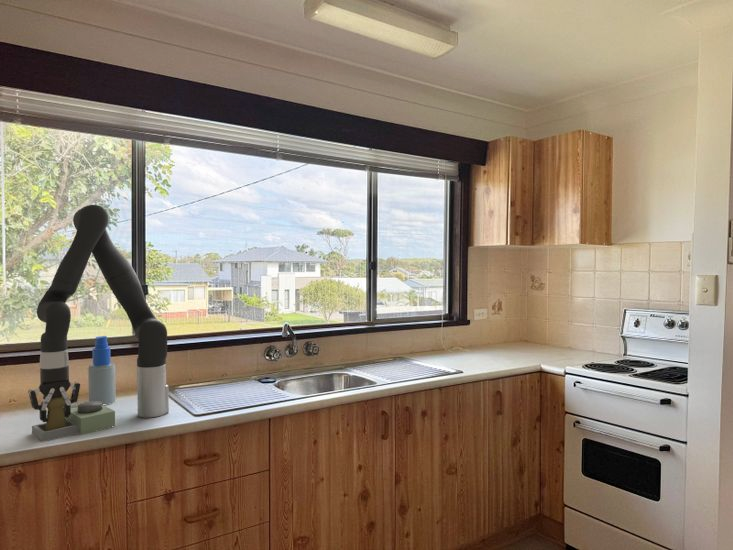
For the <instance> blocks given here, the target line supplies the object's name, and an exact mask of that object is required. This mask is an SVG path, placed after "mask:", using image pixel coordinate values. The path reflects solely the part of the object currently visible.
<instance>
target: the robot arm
mask: <svg viewBox="0 0 733 550" xmlns="http://www.w3.org/2000/svg"><path fill="white" fill-rule="evenodd" d="M72 221H73V226H74V228H75V230H76V232H75V235H74V238H73V240H72V241H71V245H70V246H69V248H68V250H67V252H66V253H65V255H64V257H63V258H62V260H61V262H60V263H59V265H58V267H57V270H56V272H55V274H54V277H53V279H52V281H51V284H50V286H49V287H48V288H47V290H46V291H45V293H44V294H43V296H42V297H41V299H40V301H39V303H38V305H37V307H36V316H37V318H38V319H39V320H40V321H41V322H42V323H45V331H44V333H42V334H41V336H40V356H39V379H40V380H39V381H40V384H39V386H38V388H37V387H36V388H34V389H29V390H28V391H27V393H28V397H29V401H30V405H31V407H32V409H34V410H36V411H38V410H39V412H38V413H39V420H40V421H41V422H43V423H46V422H47V413H48V409H47V405H48V403H49V402H50V399H54V398H60V397H63V398H64V400H65V405H64V413H65V419H66V418H68V417H69V415H70V414H71V408H72V407H71V406H72V404H74V403H77V402H78V398H79V394H80V390H81V389H80V388H81V384H80V383H79V382H77V381H74V382H71V381H70V372H69V370H70V367H69V366H70V365H69V364H70V361H69V352H68V351H69V350H68V334H69V330H70V325H71V317H72V315H71V314H72V312H71V309H70V306H69V305H68V304H67V301H68V299H69V297H72V296H73V295H75V293H76V292H77V289H78V287H79V285H80V282H81V279H82V276H83V275H84V272H85V269H86V266H87V264H88V262H89V259H90V258H91V256H92V255H93V257H94V260H95V262H96V265H97V266H98V269H99V270H100V271H101V274H102V276H103V278H104V279H105V281H106V283H107V285H108V287H109V289H110V290H111V292H112V294H113V296H114V297H115V298H116V300H117V302H118V303H119V305H120V306H121V307H122V309H123V310H124V311H125V313H126V315H127V317H128V319H129V321H130V324H131V327H132V329H133V332H134V334H135V337H136V339H137V341H138V355H137V358H136V370H137V371H136V374H137V375H136V377H137V378H136V381H137V386H136V388H137V391H136V392H137V398H136V399H137V409H136V410H137V417H140V418H144V419H145V418H156V417H160V416H163V415H165V414H167V413H169V412H170V411H169V410H170V407H169V406H170V404H169V401H170V400H169V399H170V398H169V397H170V396H169V385H168V384H167V370H166V369H167V368H166V367H167V357H168V330H167V327H166V325H165V324H164V323H163V322H161V321H160V320H158V319H157V317H156V316H155V314H154V313H153V311H152V310H151V308H150V306H149V305H148V303H147V300H146V297H145V294H144V291H143V288H142V284H141V282H140V279H139V277H138V275H137V273H136V272H135V270H134V268H133V266H132V264H131V262H129V260H128V259H127V258H126V256H125V255H123V253H122V252H121V251H120V250H119V249H118V248H117V246H116V245H115V244H114V243H113V241H112V239H111V237H110V235H109V233H108V231H107V227H108V226H109V224H110V216H109V213H108V211H107V210H106V208H104V207H103V206H101V205H99V204H90V205H89V204H88V205H85V206H83V207H82V208H80V209H78V210H77V211H75V213H74V214H73V218H72ZM69 389H71V390H72V391H71V394H70V398H69V395H68V394H67V392H68V390H69ZM39 393H41V394H42V397H41V400H40V401H41V402H40V403H39V401H38V396H39Z"/></svg>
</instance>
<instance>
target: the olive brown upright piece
mask: <svg viewBox="0 0 733 550" xmlns="http://www.w3.org/2000/svg"><path fill="white" fill-rule="evenodd" d="M64 405H65V400H64V398H63V397H60V398H54V399H50V402H49V403H48V405H47V407H46V409H47V422H45V423H46V428H45V431H50V430H54V429H59V428H63V427H67V425H66V418H65V413H64Z"/></svg>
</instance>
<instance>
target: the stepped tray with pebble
mask: <svg viewBox="0 0 733 550" xmlns="http://www.w3.org/2000/svg"><path fill="white" fill-rule="evenodd" d="M65 419H66V425H67V427H63V428H59V429H54V430H50V431H45V428H46V422H43V423H39V424H35V425H33V424H32V425H31V435H33V436H34V437H35V438H37V439H38V440H39V439H40V440H39V441H41V442H46V441H50V440H51V441H52V440H55V439H59V437H60V438H63V436H64V437H67V436H71V435H76V433H77V434H81V435H85V434H88V433H89V432H90V433H93V431H94V432H96V430H98V431H101V430H100V429H102V430H105V429H104V428H106V429H109V428H108V427H111V428H113V427H112V426H115V427H116V410H114V409H111V408H109V407H107V405H102V402H100V401H90V402H89V401H86V402H80V403H79V404H77V406H76V407H71V414H70V415H69V417H68V418H65ZM84 433H85V434H84Z"/></svg>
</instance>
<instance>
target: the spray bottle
mask: <svg viewBox="0 0 733 550" xmlns="http://www.w3.org/2000/svg"><path fill="white" fill-rule="evenodd" d="M87 372H88V374H87V376H88V402H90V401H100V402H102V405H103V404H108V405H110V404H109V403H112V404H114V403H116V401H115V400H117V399H116V365H115V362H111V347H109V343H108V336H107V335H102V336H96V337H95V344H94V347H93V348H92V363H91V364H89V365H88V369H87ZM113 402H114V403H113ZM103 406H104V405H103Z"/></svg>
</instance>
